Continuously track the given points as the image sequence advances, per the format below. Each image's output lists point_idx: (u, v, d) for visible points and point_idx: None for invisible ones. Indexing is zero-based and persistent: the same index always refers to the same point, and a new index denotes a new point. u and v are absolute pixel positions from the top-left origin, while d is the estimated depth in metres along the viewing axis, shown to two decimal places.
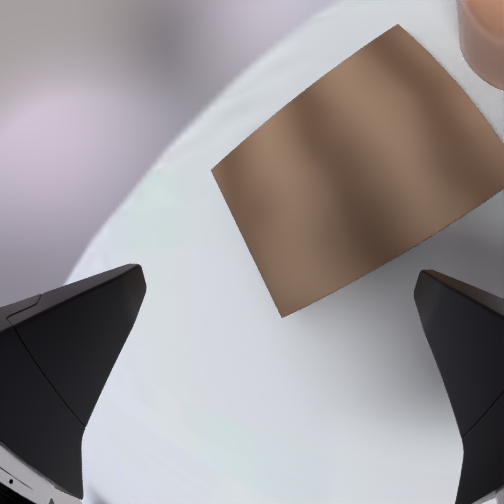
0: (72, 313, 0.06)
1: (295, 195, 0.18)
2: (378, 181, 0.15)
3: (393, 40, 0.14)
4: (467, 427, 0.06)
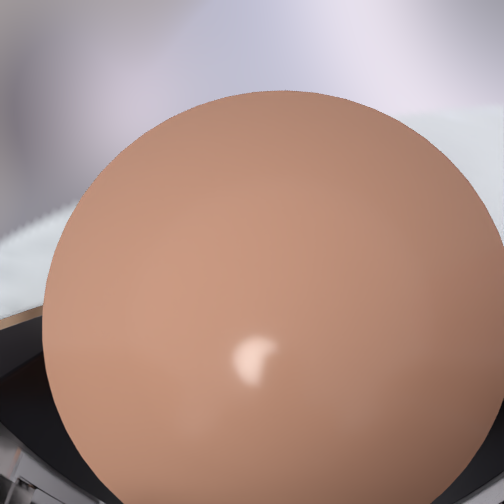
0: None
1: None
2: None
3: None
4: None
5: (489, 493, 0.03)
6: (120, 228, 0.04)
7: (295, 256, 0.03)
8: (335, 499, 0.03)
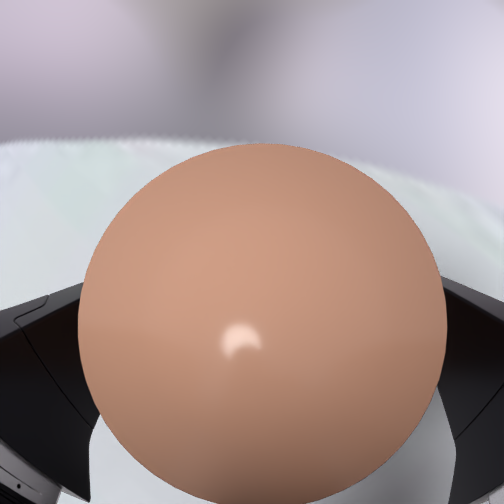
0: None
1: None
2: None
3: None
4: (460, 429, 0.06)
5: None
6: (137, 254, 0.05)
7: (260, 275, 0.05)
8: (292, 457, 0.04)
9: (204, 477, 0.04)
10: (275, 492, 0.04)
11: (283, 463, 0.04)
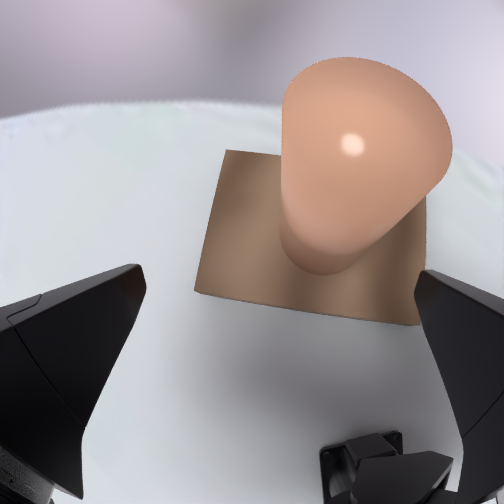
0: (72, 313, 0.06)
1: (271, 219, 0.22)
2: None
3: None
4: (467, 427, 0.06)
5: None
6: (314, 88, 0.10)
7: (371, 99, 0.09)
8: (401, 169, 0.09)
9: (363, 180, 0.09)
10: (398, 188, 0.09)
11: (398, 172, 0.09)
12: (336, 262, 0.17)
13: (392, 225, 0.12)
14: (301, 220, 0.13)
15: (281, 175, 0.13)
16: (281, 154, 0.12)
